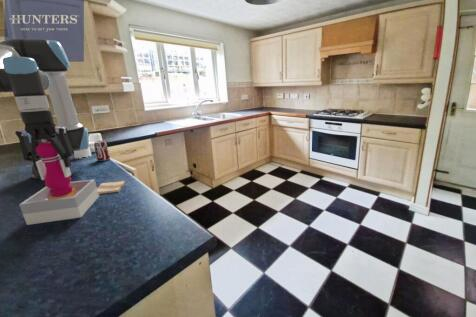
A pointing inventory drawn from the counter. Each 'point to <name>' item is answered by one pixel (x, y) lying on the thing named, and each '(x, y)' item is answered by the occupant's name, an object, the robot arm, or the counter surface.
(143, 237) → the counter surface
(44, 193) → the grey open box
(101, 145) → the soda can
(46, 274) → the counter surface
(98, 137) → the bracket
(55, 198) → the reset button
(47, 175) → the pepper mill
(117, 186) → the cork mat
